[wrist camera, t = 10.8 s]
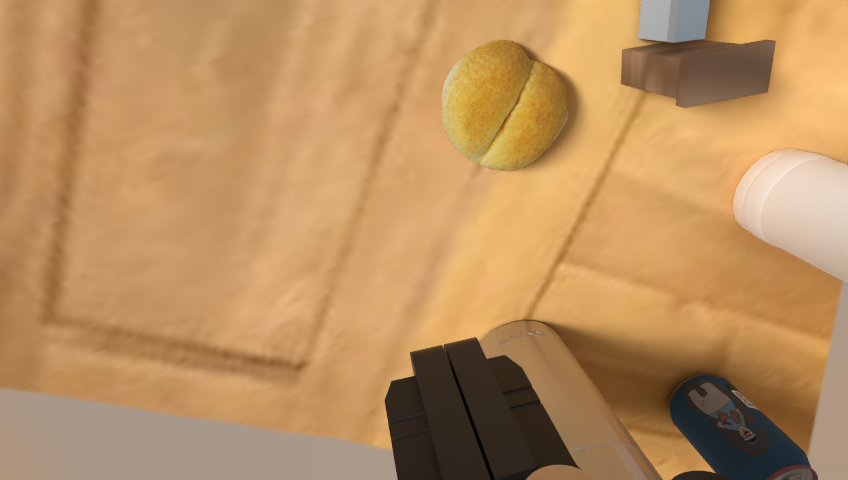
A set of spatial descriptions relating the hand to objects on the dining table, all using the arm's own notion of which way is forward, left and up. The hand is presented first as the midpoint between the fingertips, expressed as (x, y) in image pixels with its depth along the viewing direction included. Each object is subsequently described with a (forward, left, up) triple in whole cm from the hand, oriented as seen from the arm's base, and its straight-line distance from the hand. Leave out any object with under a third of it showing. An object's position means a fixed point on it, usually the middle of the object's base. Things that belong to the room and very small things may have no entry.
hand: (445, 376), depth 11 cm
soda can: (-34, -29, -27) cm, 52 cm away
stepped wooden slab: (+1, -22, -27) cm, 35 cm away
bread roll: (-1, -10, -28) cm, 29 cm away
